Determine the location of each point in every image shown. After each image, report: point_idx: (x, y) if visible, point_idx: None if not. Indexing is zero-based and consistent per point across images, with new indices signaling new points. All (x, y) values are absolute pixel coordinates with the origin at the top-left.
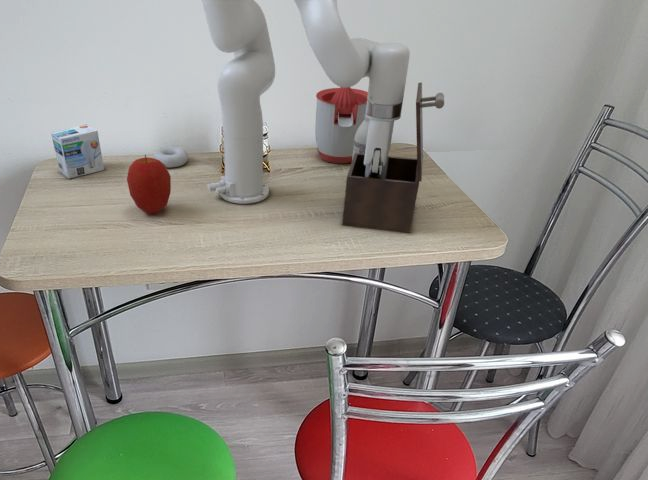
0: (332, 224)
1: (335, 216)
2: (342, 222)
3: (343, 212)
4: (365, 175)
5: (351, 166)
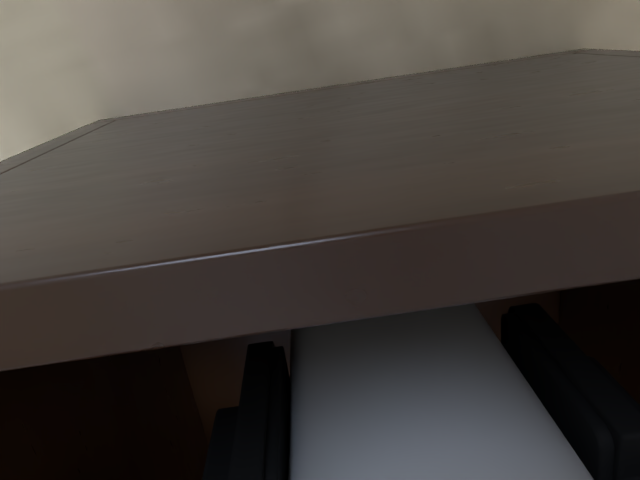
0: (71, 38)
1: (222, 20)
2: (89, 124)
3: (45, 142)
4: (365, 423)
5: (311, 272)
